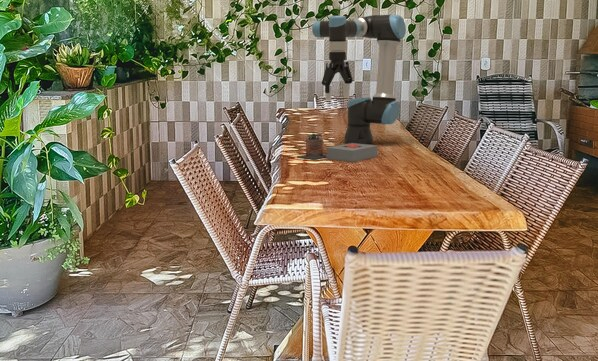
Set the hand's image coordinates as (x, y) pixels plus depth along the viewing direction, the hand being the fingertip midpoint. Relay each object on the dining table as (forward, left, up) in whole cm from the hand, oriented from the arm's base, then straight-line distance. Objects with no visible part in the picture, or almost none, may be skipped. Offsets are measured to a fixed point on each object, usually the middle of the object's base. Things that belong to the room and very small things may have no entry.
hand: (337, 99), depth 316 cm
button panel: (+1, +10, -26) cm, 27 cm away
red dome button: (+1, +10, -25) cm, 26 cm away
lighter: (+11, -4, -25) cm, 28 cm away
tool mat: (+11, -4, -26) cm, 28 cm away
